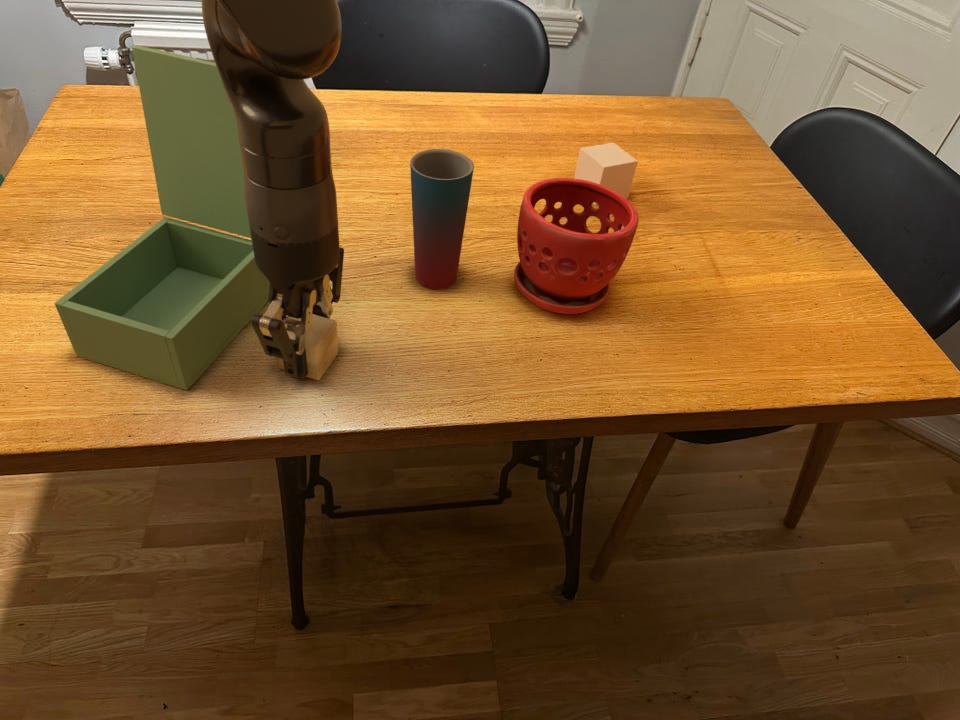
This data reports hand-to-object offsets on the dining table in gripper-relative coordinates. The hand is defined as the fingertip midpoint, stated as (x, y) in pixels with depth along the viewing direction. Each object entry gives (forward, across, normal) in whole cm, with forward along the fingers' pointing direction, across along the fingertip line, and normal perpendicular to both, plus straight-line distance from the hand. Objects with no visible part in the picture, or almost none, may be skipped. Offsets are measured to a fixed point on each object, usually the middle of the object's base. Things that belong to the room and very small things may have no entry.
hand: (308, 358), depth 72 cm
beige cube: (+1, -49, +22) cm, 54 cm away
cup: (+1, -19, +7) cm, 20 cm away
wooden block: (0, 0, 0) cm, 0 cm away
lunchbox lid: (-16, -9, -15) cm, 23 cm away
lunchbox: (0, 0, -15) cm, 15 cm away
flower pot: (+1, -23, +22) cm, 32 cm away
